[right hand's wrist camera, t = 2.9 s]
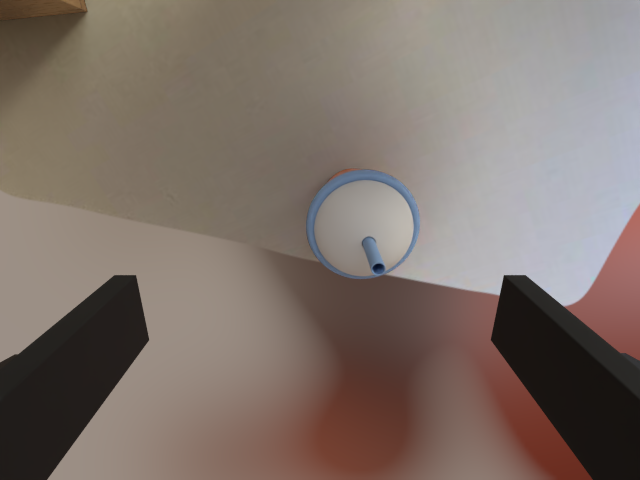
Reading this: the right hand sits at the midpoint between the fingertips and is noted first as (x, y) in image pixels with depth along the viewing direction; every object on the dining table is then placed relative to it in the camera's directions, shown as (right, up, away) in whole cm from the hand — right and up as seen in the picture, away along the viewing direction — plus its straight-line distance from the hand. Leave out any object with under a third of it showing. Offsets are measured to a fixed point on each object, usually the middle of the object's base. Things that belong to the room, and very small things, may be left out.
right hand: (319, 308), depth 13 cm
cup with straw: (+3, +7, +25) cm, 26 cm away
